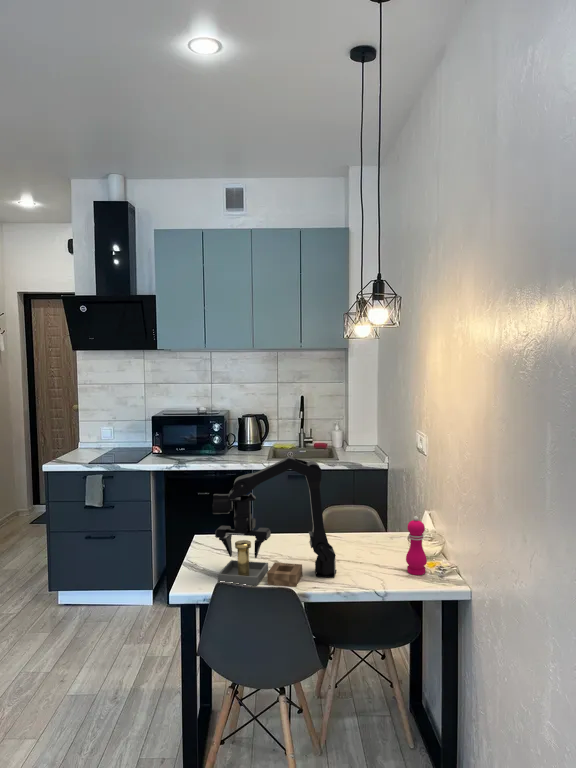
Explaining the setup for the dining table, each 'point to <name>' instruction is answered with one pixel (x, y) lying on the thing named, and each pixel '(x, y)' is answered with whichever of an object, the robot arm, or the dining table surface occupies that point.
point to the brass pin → (243, 556)
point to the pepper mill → (416, 548)
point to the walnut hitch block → (284, 574)
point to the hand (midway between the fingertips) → (243, 557)
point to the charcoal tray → (255, 576)
